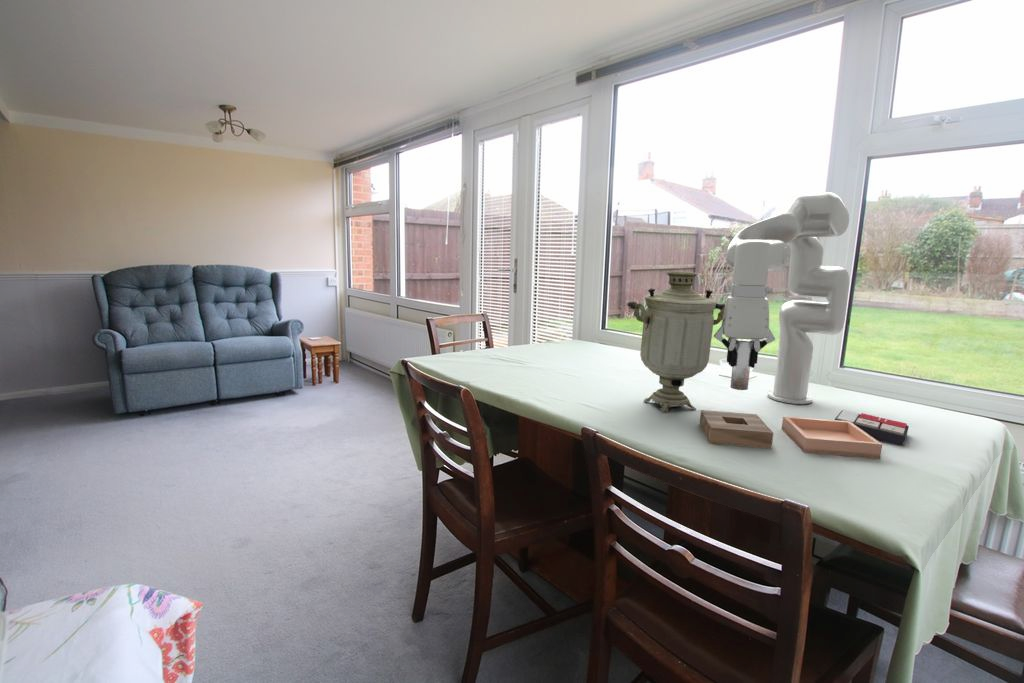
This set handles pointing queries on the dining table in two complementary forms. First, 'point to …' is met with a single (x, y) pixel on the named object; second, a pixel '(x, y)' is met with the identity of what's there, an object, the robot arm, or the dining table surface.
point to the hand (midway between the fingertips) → (741, 365)
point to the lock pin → (741, 364)
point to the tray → (831, 437)
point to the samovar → (676, 336)
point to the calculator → (877, 427)
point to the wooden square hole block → (735, 429)
